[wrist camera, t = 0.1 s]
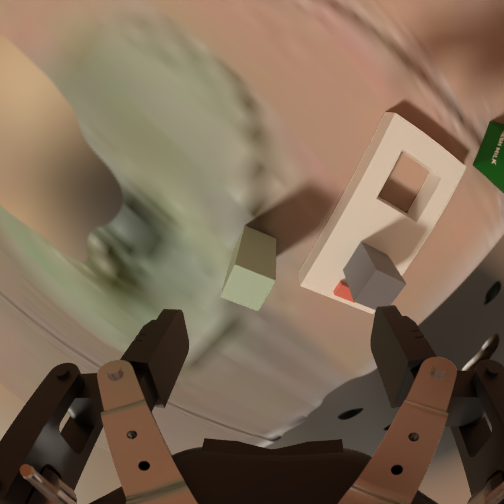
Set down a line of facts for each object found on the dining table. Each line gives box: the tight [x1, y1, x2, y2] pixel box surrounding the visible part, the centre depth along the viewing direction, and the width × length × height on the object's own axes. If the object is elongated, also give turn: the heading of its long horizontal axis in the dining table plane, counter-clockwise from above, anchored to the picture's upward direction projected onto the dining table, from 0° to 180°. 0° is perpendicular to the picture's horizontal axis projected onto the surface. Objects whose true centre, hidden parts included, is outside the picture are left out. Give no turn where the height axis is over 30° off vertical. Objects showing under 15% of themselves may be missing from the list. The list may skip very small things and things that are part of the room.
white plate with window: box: [299, 112, 466, 314], centre depth 28 cm, size 22×11×9 cm, turn 157°
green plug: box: [220, 226, 276, 311], centre depth 31 cm, size 4×4×9 cm
